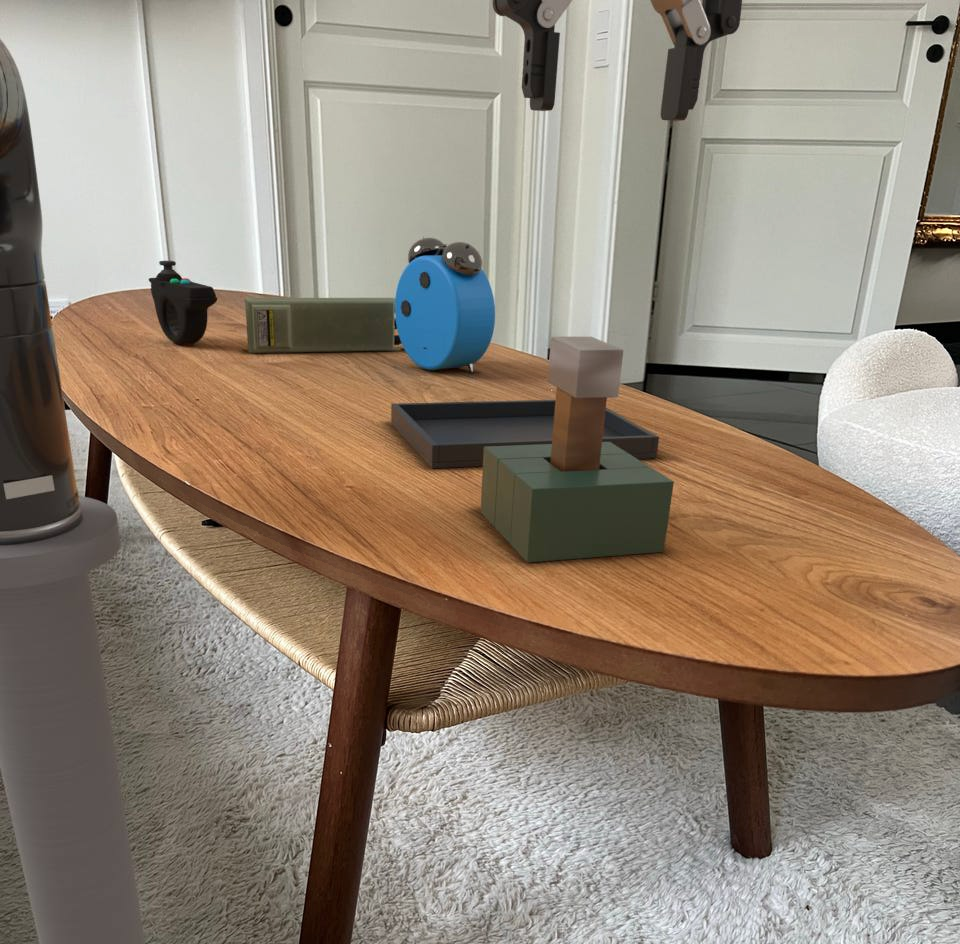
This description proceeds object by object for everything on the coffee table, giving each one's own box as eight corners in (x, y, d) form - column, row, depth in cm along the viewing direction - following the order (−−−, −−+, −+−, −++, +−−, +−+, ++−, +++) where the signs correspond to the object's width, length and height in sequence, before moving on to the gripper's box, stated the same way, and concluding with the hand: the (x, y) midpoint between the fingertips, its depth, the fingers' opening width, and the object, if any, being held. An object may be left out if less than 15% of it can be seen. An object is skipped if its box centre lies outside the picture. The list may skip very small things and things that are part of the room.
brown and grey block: (562, 545, 64) (580, 350, 58) (536, 521, 68) (550, 336, 62) (601, 542, 65) (623, 349, 59) (573, 518, 69) (591, 336, 63)
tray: (431, 468, 79) (432, 445, 78) (391, 423, 91) (391, 403, 91) (656, 458, 85) (659, 436, 84) (589, 417, 98) (590, 398, 97)
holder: (527, 562, 61) (532, 489, 59) (480, 512, 69) (483, 446, 67) (663, 552, 64) (674, 481, 61) (602, 505, 72) (610, 441, 70)
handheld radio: (247, 349, 123) (428, 346, 131) (250, 355, 120) (435, 351, 128) (244, 296, 119) (429, 296, 128) (247, 300, 117) (437, 300, 125)
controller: (180, 336, 129) (172, 258, 124) (225, 351, 121) (219, 268, 117) (150, 338, 126) (141, 259, 122) (194, 353, 118) (187, 269, 114)
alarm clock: (493, 376, 115) (501, 244, 108) (454, 380, 111) (459, 244, 104) (429, 358, 124) (432, 235, 117) (391, 361, 120) (392, 235, 113)
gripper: (727, -201, 53) (684, 125, 60) (489, -249, 49) (473, 108, 56) (807, -249, 47) (748, 122, 54) (541, -308, 42) (516, 103, 50)
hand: (608, 115), depth 55 cm, fingers open, 8 cm apart
